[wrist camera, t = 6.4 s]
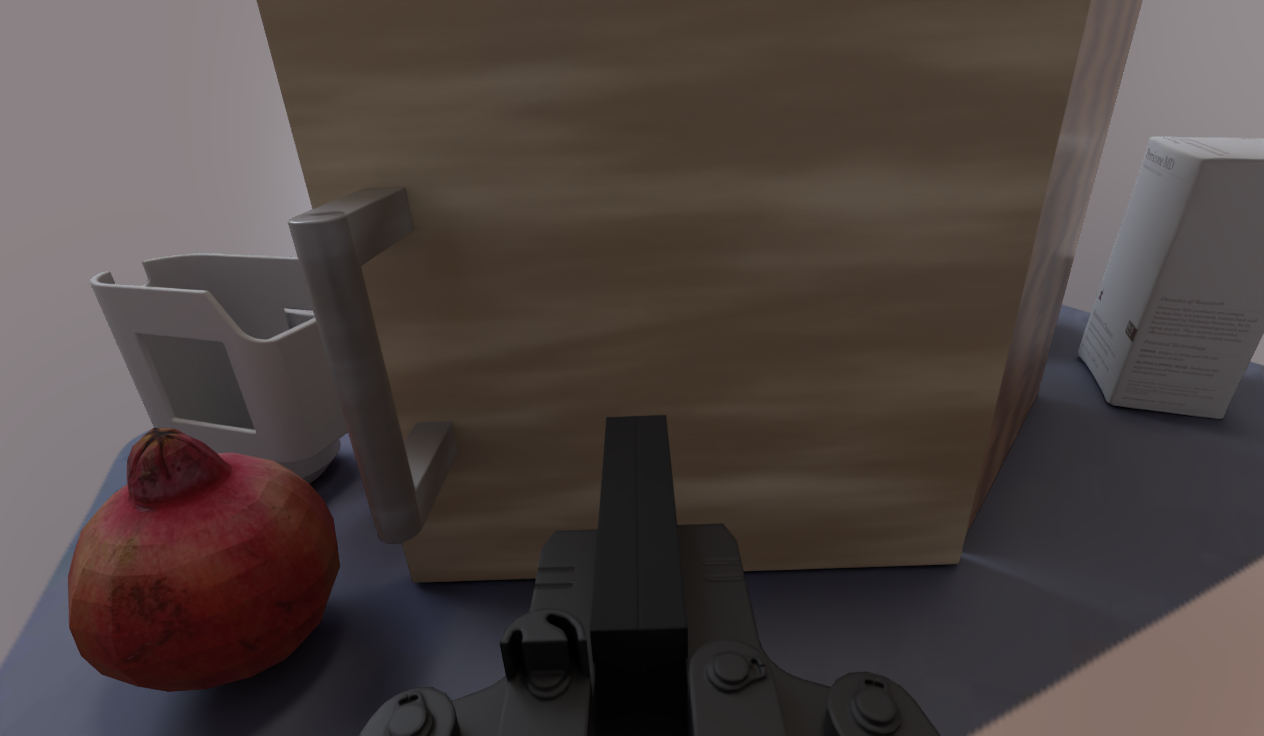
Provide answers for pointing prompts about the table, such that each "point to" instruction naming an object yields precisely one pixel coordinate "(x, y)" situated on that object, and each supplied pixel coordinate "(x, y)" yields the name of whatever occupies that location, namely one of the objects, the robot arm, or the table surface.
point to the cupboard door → (671, 258)
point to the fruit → (200, 567)
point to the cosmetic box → (1183, 280)
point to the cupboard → (1060, 222)
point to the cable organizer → (229, 356)
